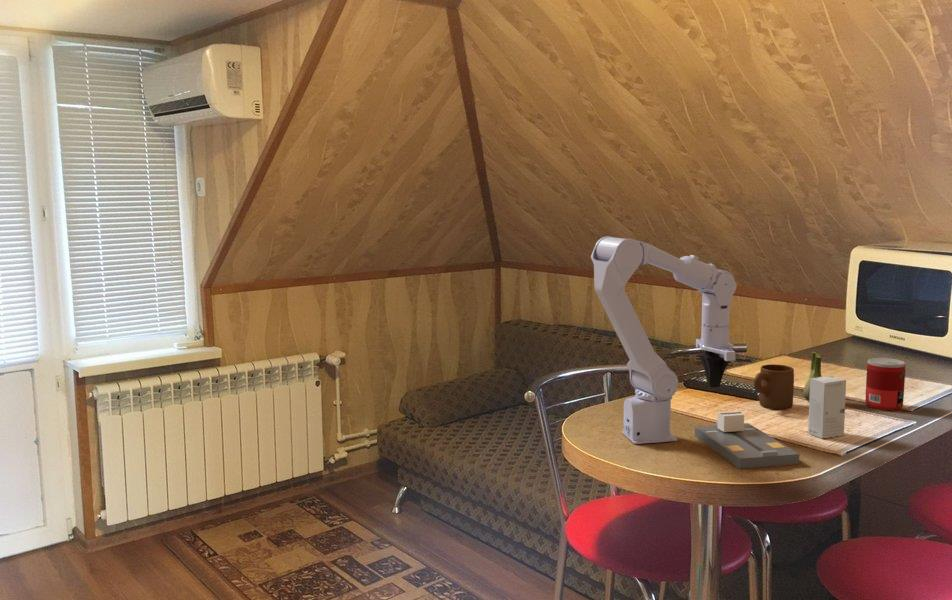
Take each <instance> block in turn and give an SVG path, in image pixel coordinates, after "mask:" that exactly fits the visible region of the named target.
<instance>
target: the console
mask: <svg viewBox="0 0 952 600" xmlns="http://www.w3.org/2000/svg"><path fill="white" fill-rule="evenodd" d="M694 436H695V437H696V438H697V439H698V440H700V441H701V442H703V443H704V444H705V445H706V446H708V447H710V448H711V449H712V450H713V451H715V452H716V453H717V454H719V455H720V456H722V457H723V458H725V459H726V460H728V462H730V463H731V464H732V465H734V466H735V467H737V468H738V469H739V470H741V469H742V470H743V469H754V468H766V467H767V468H768V467H780V466H792V465H800V453H798V452H797V451H795V450H793V449H791V448H790V447H788V446H787V445H785V444H784V443H782V442H780V441H779V440H778V439H777V440H776V439H775V438H774V437H772V436H770V435H768V434H767V433H765V432H763V431H762V430H761V429H759V428H757V427H755V426H754V425H752V424H751V423H748V422H744V431H733V432H723V431H721V430H720V429H718V428H717V421H715V422H714V425H705V426H704V425H702V426H700V425H699V426H694Z"/></svg>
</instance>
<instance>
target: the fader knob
mask: <svg viewBox="0 0 952 600" xmlns="http://www.w3.org/2000/svg"><path fill="white" fill-rule="evenodd" d="M716 422H717V428H718V429H720V430H721V431H723V432H733V431H744V423H745V414H744V413H742V412H741V411H739V410H729V411H718V412H717V421H716Z"/></svg>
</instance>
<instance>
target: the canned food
mask: <svg viewBox="0 0 952 600" xmlns="http://www.w3.org/2000/svg"><path fill="white" fill-rule="evenodd" d="M866 364H867V365H866V379H865V382H866V383H865V397H864V398H865V401H864V402H865V405H866V406H867V407H868V408H870V409H874V410H877V411H883V412H884V411H885V412H887V411H888V412H895V411H896V412H897V411H900V410H902V409H903V406H904V398H905V396H904V395H905V383H906V381H905V380H906V368H907V367H906V362H905V361H903V360H900V359H896V358H889V357H872V358H868V359H867V363H866Z"/></svg>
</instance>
